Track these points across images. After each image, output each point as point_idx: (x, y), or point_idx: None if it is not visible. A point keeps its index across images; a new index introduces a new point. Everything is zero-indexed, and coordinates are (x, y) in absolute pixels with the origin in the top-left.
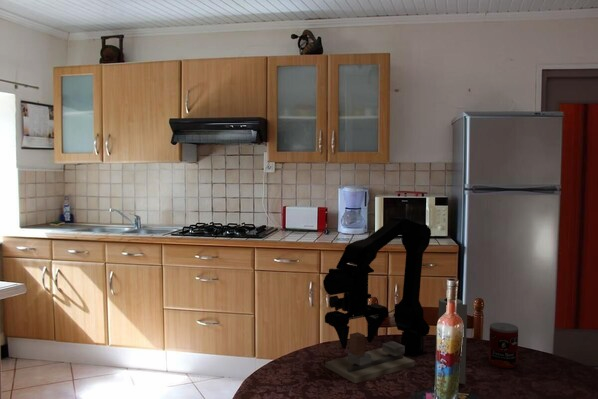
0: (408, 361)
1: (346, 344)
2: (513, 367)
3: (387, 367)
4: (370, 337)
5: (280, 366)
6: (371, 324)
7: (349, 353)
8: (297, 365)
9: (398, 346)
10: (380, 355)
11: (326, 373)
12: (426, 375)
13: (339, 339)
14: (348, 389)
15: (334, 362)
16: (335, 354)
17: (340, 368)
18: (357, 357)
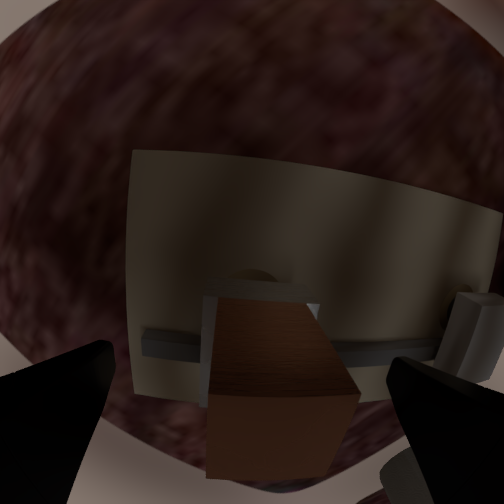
0: None
1: (100, 406)
2: None
3: None
4: (404, 409)
5: (25, 52)
6: (475, 478)
7: (202, 311)
8: (67, 66)
9: (478, 373)
10: (440, 276)
11: (97, 221)
12: (394, 437)
13: (42, 364)
14: None
15: (170, 187)
16: (324, 56)
17: (139, 279)
18: (200, 386)
